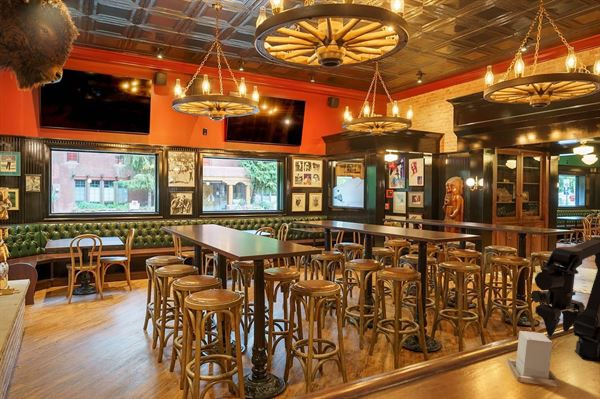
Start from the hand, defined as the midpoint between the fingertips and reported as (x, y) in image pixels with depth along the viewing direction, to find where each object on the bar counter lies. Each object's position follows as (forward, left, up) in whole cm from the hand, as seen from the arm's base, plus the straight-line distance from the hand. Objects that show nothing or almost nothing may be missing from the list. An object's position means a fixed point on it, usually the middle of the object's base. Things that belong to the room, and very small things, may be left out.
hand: (557, 333), depth 135 cm
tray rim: (+10, +9, -11) cm, 17 cm away
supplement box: (+10, +9, -11) cm, 17 cm away
